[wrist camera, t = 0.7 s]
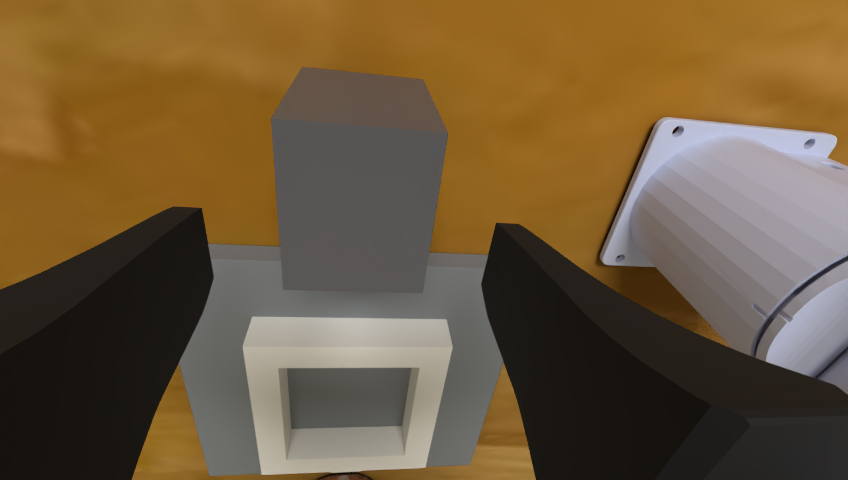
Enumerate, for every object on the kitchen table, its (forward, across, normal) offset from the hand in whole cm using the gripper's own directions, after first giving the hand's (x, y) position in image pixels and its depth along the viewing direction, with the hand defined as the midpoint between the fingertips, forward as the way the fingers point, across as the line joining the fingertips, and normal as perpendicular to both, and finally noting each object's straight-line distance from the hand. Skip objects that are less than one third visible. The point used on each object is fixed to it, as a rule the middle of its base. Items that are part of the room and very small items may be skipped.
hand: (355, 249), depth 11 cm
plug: (+9, 0, 0) cm, 9 cm away
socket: (+9, 0, +15) cm, 17 cm away
